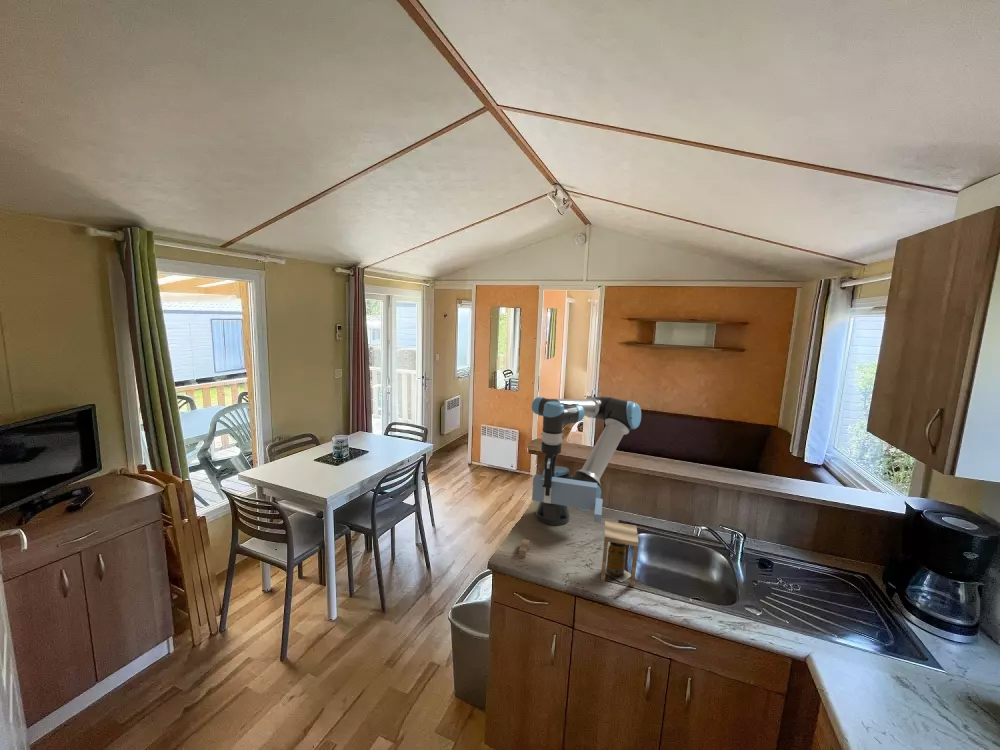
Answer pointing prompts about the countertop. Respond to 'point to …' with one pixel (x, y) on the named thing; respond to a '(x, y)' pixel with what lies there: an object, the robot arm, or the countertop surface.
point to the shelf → (622, 536)
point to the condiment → (617, 562)
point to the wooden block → (524, 548)
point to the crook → (570, 494)
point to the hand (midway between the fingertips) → (548, 499)
